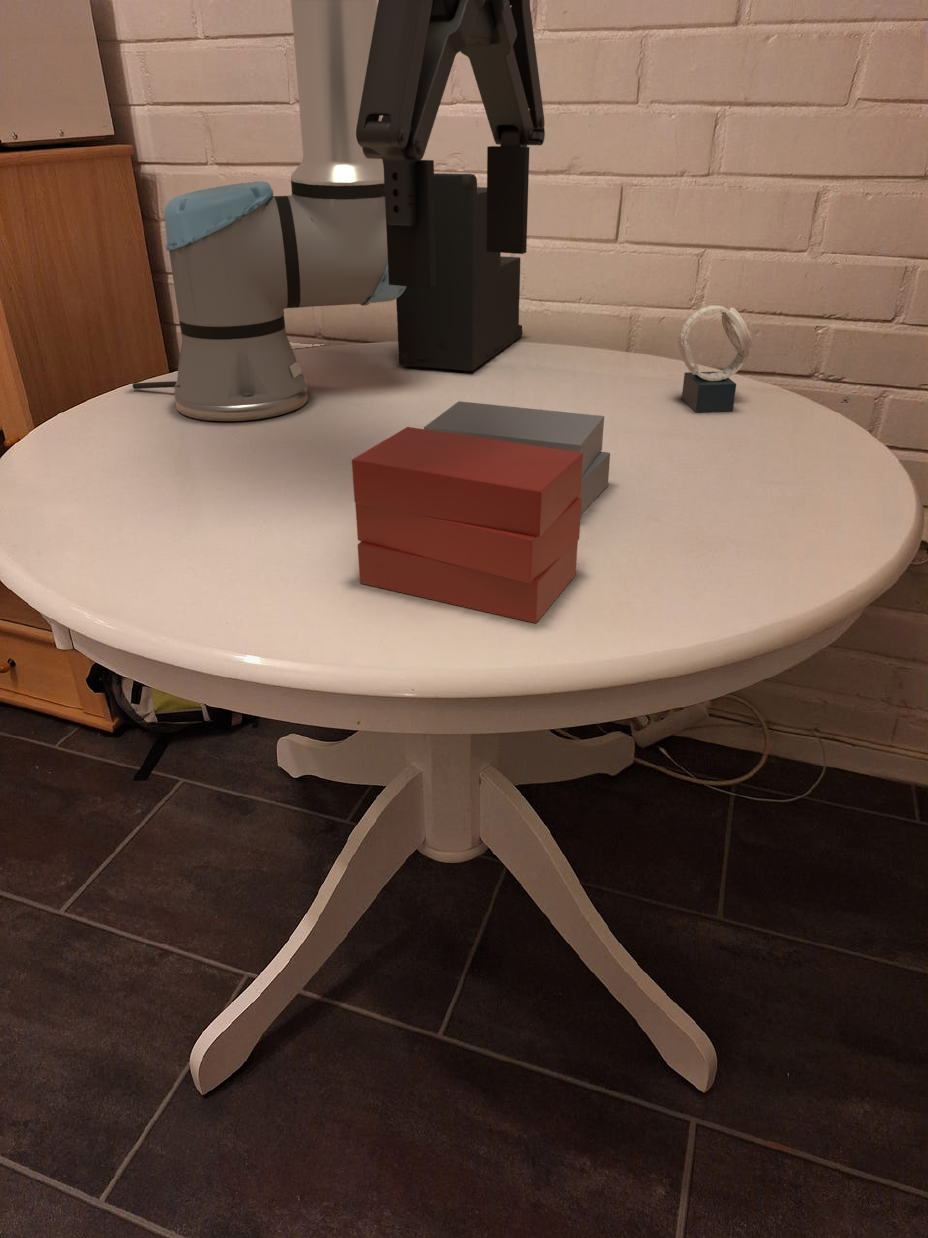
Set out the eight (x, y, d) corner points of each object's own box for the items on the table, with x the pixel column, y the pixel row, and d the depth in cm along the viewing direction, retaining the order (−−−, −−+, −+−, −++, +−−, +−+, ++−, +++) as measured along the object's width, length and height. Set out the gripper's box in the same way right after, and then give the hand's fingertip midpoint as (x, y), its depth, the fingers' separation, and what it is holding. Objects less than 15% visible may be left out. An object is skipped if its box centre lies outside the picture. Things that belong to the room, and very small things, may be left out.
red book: (354, 502, 64) (350, 459, 62) (408, 466, 70) (407, 426, 68) (539, 537, 58) (541, 491, 57) (580, 495, 65) (583, 452, 63)
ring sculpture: (749, 410, 104) (764, 310, 98) (680, 412, 103) (691, 312, 98) (732, 397, 108) (746, 301, 103) (666, 398, 108) (676, 302, 103)
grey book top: (424, 462, 80) (423, 427, 79) (458, 433, 87) (458, 401, 85) (578, 481, 76) (580, 444, 74) (602, 450, 83) (604, 415, 81)
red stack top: (357, 540, 66) (354, 499, 64) (416, 503, 72) (415, 465, 70) (530, 584, 60) (532, 539, 58) (579, 539, 66) (582, 498, 64)
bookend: (457, 331, 140) (455, 161, 129) (524, 336, 137) (528, 162, 126) (396, 368, 121) (388, 172, 110) (473, 374, 118) (473, 174, 107)
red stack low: (359, 583, 67) (357, 543, 65) (411, 541, 73) (410, 505, 72) (536, 623, 62) (537, 581, 60) (576, 575, 68) (578, 536, 66)
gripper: (409, -244, 36) (423, 309, 47) (606, -129, 55) (584, 244, 66) (255, -219, 39) (302, 297, 50) (494, -118, 58) (490, 238, 69)
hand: (463, 267), depth 58 cm, fingers open, 13 cm apart
